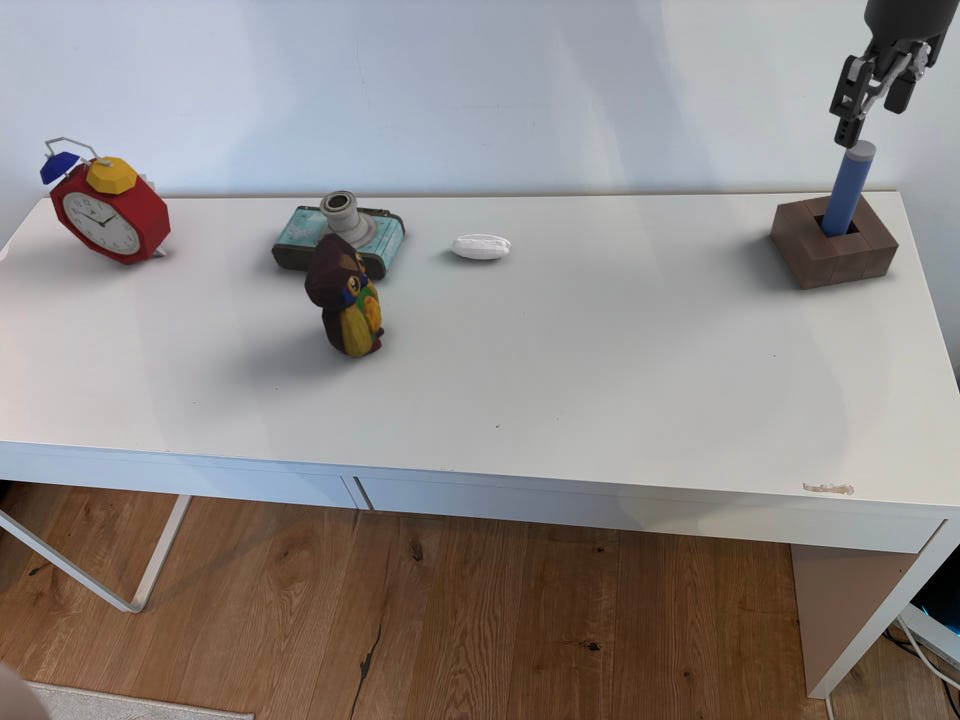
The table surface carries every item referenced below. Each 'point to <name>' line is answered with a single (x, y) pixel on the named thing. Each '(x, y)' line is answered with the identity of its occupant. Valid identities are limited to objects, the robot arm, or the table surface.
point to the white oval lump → (481, 246)
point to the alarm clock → (107, 205)
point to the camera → (340, 233)
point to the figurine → (344, 297)
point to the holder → (831, 244)
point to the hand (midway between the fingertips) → (869, 127)
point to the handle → (847, 188)
